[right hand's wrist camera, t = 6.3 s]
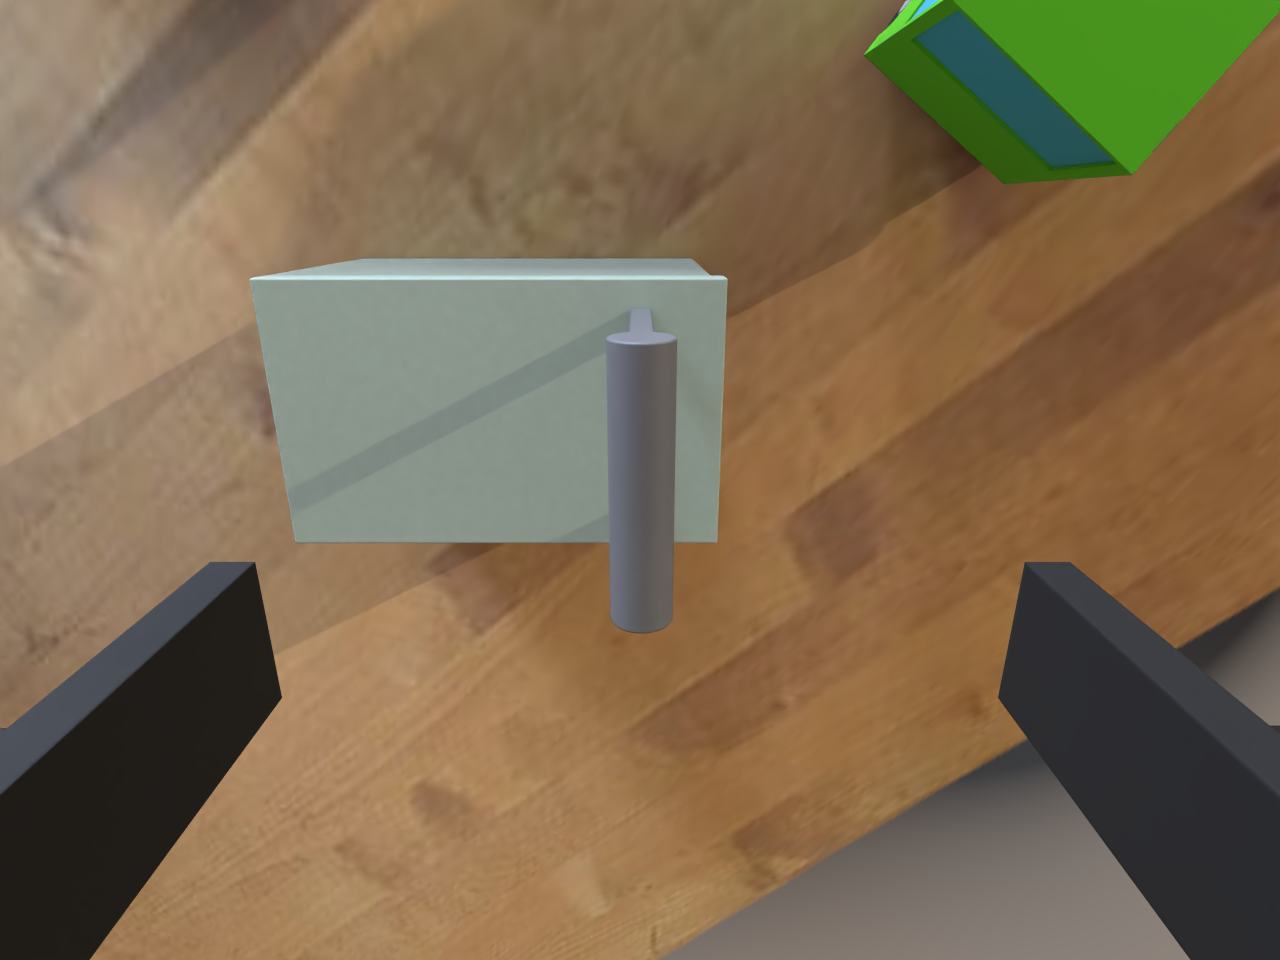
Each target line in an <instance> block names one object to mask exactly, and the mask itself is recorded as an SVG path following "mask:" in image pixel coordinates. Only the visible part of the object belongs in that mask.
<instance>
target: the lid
mask: <svg viewBox="0 0 1280 960" xmlns="http://www.w3.org/2000/svg"><path fill="white" fill-rule="evenodd" d="M727 282H728V280H727V278H726V277H724V276H260V277H255V278H251V279H250V284H251V290H252V296H253V302H254V307H255V313H256V319H257V324H258V330H259V336H260V342H261V347H262V353H263V359H264V364H265V370H266V376H267V381H268V387H269V393H270V399H271V404H272V410H273V416H274V421H275V427H276V433H277V439H278V444H279V450H280V456H281V461H282V467H283V473H284V478H285V484H286V490H287V496H288V501H289V507H290V513H291V518H292V524H293V530H294V536H295V541H296V543H609V567H610V618H611V620H612V622H613V624H614V625H615V626H616V627H618V628H620V629H622V630H624V631H627V632H632V633H651V632H656V631H659V630H661V629H663V628H665V627H666V626H668V625H669V624H670V622H671V620H672V617H673V563H674V543H717V536H718V511H719V486H720V460H721V435H722V409H723V384H724V358H725V333H726V308H727Z"/></svg>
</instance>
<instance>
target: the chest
mask: <svg viewBox="0 0 1280 960" xmlns="http://www.w3.org/2000/svg"><path fill="white" fill-rule="evenodd" d="M267 276H710V275H709V274H708V273H707V272H706V271H705V270H704V269H703V268H702V267H700V266H699V265H698V264H697V263H696V262H695V261H694V260H693V259H358V260H352V261H346V262H340V263H334V264H329V265H323V266H317V267H311V268H306V269H300V270H294V271H289V272H283V273H277V274H271V275H267Z"/></svg>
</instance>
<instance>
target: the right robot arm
mask: <svg viewBox="0 0 1280 960" xmlns="http://www.w3.org/2000/svg"><path fill="white" fill-rule="evenodd" d="M281 698H282V696H281V691H280V686H279V681H278V675H277V670H276V665H275V660H274V655H273V650H272V645H271V640H270V635H269V630H268V625H267V620H266V615H265V610H264V605H263V600H262V595H261V590H260V585H259V579H258V574H257V569H256V564H255V562H210V563H209V564H207V565H206V566H205V567H204V568H202V569H201V570H200V571H199V572H198V573H196V574H195V575H194V576H193V577H191V578H190V579H189V580H188V581H187V582H185V583H184V584H183V585H182V586H180V587H179V588H178V589H177V590H176V591H174V592H173V593H172V594H171V595H169V596H168V597H167V598H166V599H165V600H163V601H162V602H161V603H160V604H158V605H157V606H156V607H155V608H154V609H152V610H151V611H150V612H149V613H147V614H146V615H145V616H144V617H143V618H141V619H140V620H139V621H138V622H136V623H135V624H134V625H133V626H132V627H130V628H129V629H128V630H127V631H125V632H124V633H123V634H122V635H121V636H119V637H118V638H117V639H116V640H115V641H113V642H112V643H111V644H110V645H108V646H107V647H106V648H105V649H104V650H102V651H101V652H100V653H99V654H97V655H96V656H95V657H94V658H93V659H91V660H90V661H89V662H88V663H86V664H85V665H84V666H83V667H82V668H80V669H79V670H78V671H77V672H75V673H74V674H73V675H72V676H71V677H69V678H68V679H67V680H66V681H64V682H63V683H62V684H61V685H60V686H58V687H57V688H56V689H55V690H53V691H52V692H51V693H50V694H49V695H47V696H46V697H45V698H44V699H42V700H41V701H40V702H39V703H38V704H36V705H35V706H34V707H33V708H31V709H30V710H29V711H28V712H27V713H25V714H24V715H23V716H22V717H20V718H19V719H18V720H17V721H16V722H14V723H13V724H12V725H11V726H9V727H8V728H0V960H90V958H91V957H92V956H93V954H94V953H95V952H96V950H97V949H98V948H99V946H100V945H101V943H102V942H103V941H104V939H105V938H106V937H107V935H108V934H109V933H110V931H111V930H112V928H113V927H114V926H115V924H116V923H117V922H118V920H119V919H120V918H121V916H122V915H123V913H124V912H125V911H126V909H127V908H128V907H129V905H130V904H131V903H132V901H133V900H134V898H135V897H136V896H137V894H138V893H139V892H140V890H141V889H142V888H143V886H144V885H145V884H146V882H147V881H148V879H149V878H150V877H151V875H152V874H153V873H154V871H155V870H156V869H157V867H158V866H159V864H160V863H161V862H162V860H163V859H164V858H165V856H166V855H167V854H168V852H169V851H170V849H171V848H172V847H173V845H174V844H175V843H176V841H177V840H178V839H179V837H180V836H181V834H182V833H183V832H184V830H185V829H186V828H187V826H188V825H189V824H190V822H191V821H192V820H193V818H194V817H195V815H196V814H197V813H198V811H199V810H200V809H201V807H202V806H203V805H204V803H205V802H206V800H207V799H208V798H209V796H210V795H211V794H212V792H213V791H214V790H215V788H216V787H217V785H218V784H219V783H220V781H221V780H222V779H223V777H224V776H225V775H226V773H227V772H228V771H229V769H230V768H231V766H232V765H233V764H234V762H235V761H236V760H237V758H238V757H239V756H240V754H241V753H242V751H243V750H244V749H245V747H246V746H247V745H248V743H249V742H250V741H251V739H252V738H253V736H254V735H255V734H256V732H257V731H258V730H259V728H260V727H261V726H262V724H263V723H264V721H265V720H266V719H267V717H268V716H269V715H270V713H271V712H272V711H273V709H274V708H275V707H276V705H277V704H278V702H279V701H280V700H281ZM998 698H999V700H1000V701H1001V702H1002V704H1003V705H1004V707H1005V708H1006V709H1007V711H1008V712H1009V713H1010V715H1011V716H1012V717H1013V719H1014V720H1015V721H1016V723H1017V724H1018V726H1019V727H1020V728H1021V730H1022V731H1023V732H1024V734H1025V735H1026V736H1027V738H1028V739H1029V741H1030V742H1031V743H1032V745H1033V746H1034V747H1035V749H1036V750H1037V751H1038V753H1039V754H1040V756H1041V757H1042V758H1043V760H1044V761H1045V762H1046V764H1047V765H1048V766H1049V768H1050V769H1051V771H1052V772H1053V773H1054V775H1055V776H1056V777H1057V779H1058V780H1059V781H1060V783H1061V784H1062V785H1063V787H1064V788H1065V790H1066V791H1067V792H1068V794H1069V795H1070V796H1071V798H1072V799H1073V800H1074V802H1075V803H1076V805H1077V806H1078V807H1079V809H1080V810H1081V811H1082V813H1083V814H1084V815H1085V817H1086V818H1087V820H1088V821H1089V822H1090V824H1091V825H1092V826H1093V828H1094V829H1095V830H1096V832H1097V833H1098V834H1099V836H1100V837H1101V839H1102V840H1103V841H1104V843H1105V844H1106V845H1107V847H1108V848H1109V849H1110V851H1111V852H1112V854H1113V855H1114V856H1115V858H1116V859H1117V860H1118V862H1119V863H1120V864H1121V866H1122V867H1123V869H1124V870H1125V871H1126V873H1127V874H1128V875H1129V877H1130V878H1131V879H1132V881H1133V882H1134V883H1135V885H1136V886H1137V888H1138V889H1139V890H1140V892H1141V893H1142V894H1143V896H1144V897H1145V898H1146V900H1147V901H1148V902H1149V904H1150V905H1151V907H1152V908H1153V909H1154V911H1155V912H1156V913H1157V915H1158V916H1159V918H1160V919H1161V920H1162V922H1163V923H1164V924H1165V926H1166V927H1167V928H1168V930H1169V931H1170V933H1171V934H1172V935H1173V937H1174V938H1175V939H1176V941H1177V942H1178V943H1179V945H1180V946H1181V948H1182V949H1183V950H1184V952H1185V953H1186V954H1187V956H1188V957H1189V958H1190V960H1280V726H1269V725H1268V724H1267V723H1266V722H1264V721H1263V720H1262V719H1261V718H1260V717H1258V716H1257V715H1256V714H1255V713H1253V712H1252V711H1251V710H1250V709H1249V708H1247V707H1246V706H1245V705H1244V704H1242V703H1241V702H1240V701H1239V700H1238V699H1236V698H1235V697H1234V696H1233V695H1231V694H1230V693H1229V692H1228V691H1227V690H1225V689H1224V688H1223V687H1222V686H1220V685H1219V684H1218V683H1217V682H1215V681H1214V680H1213V679H1212V678H1211V677H1209V676H1208V675H1207V674H1206V673H1205V672H1203V671H1202V670H1201V669H1200V668H1198V667H1197V666H1196V665H1195V664H1194V663H1192V662H1191V661H1190V660H1189V659H1187V658H1186V657H1185V656H1184V655H1183V654H1181V653H1180V652H1179V651H1178V650H1176V649H1175V648H1174V647H1173V646H1172V645H1170V644H1169V643H1168V642H1167V641H1165V640H1164V639H1163V638H1162V637H1161V636H1159V635H1158V634H1157V633H1156V632H1155V631H1153V630H1152V629H1151V628H1150V627H1148V626H1147V625H1146V624H1145V623H1144V622H1142V621H1141V620H1140V619H1139V618H1137V617H1136V616H1135V615H1134V614H1133V613H1131V612H1130V611H1129V610H1128V609H1126V608H1125V607H1124V606H1123V605H1122V604H1120V603H1119V602H1118V601H1117V600H1115V599H1114V598H1113V597H1112V596H1111V595H1109V594H1108V593H1107V592H1106V591H1104V590H1103V589H1102V588H1101V587H1100V586H1098V585H1097V584H1096V583H1095V582H1093V581H1092V580H1091V579H1090V578H1089V577H1087V576H1086V575H1085V574H1084V573H1082V572H1081V571H1080V570H1079V569H1078V568H1076V567H1075V566H1074V565H1073V564H1071V563H1070V562H1025V564H1024V569H1023V574H1022V579H1021V585H1020V590H1019V595H1018V600H1017V605H1016V610H1015V615H1014V620H1013V625H1012V630H1011V635H1010V640H1009V645H1008V650H1007V655H1006V660H1005V665H1004V670H1003V675H1002V681H1001V686H1000V691H999V696H998Z"/></svg>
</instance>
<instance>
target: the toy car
mask: <svg viewBox="0 0 1280 960" xmlns="http://www.w3.org/2000/svg"><path fill="white" fill-rule="evenodd" d="M1279 11H1280V0H906V2H905V3H904V4H903V5H902V7H901V8H900V9H899V11H898V12H897V14H896V15H895V16H894V18H893V19H892V21H891V22H890V23H889V25H888V27H887V28H886V30H884V31H883V32H882V33H881V34H879V36H878V37H877V38H876V40H875V41H874V42H873V44H872V45H871V46H870V48H869V49H868V50H867V52H866V53H865V54H864V56H865V57H866V58H867V59H868V60H870V61H871V62H872V63H873V64H874V65H875V66H876V67H877V68H878V69H879V70H880V71H881V72H883V73H884V74H885V75H886V76H887V77H888V78H889V79H890V80H891V81H892V82H893V83H895V84H896V85H897V86H898V87H899V88H900V89H901V90H902V91H903V92H904V93H905V94H906V95H908V96H909V97H910V98H911V99H912V100H913V101H914V102H915V103H916V104H917V105H918V106H920V107H921V108H922V109H923V110H924V111H925V112H926V113H927V114H928V115H929V116H930V117H932V118H933V119H934V120H935V121H936V122H937V123H938V124H939V125H940V126H941V127H942V128H943V129H945V130H946V131H947V132H948V133H949V134H950V135H951V136H952V137H953V138H954V139H955V140H957V141H958V142H959V143H960V144H961V145H962V146H963V147H964V148H965V149H966V150H967V151H969V152H970V153H971V154H972V155H973V156H974V157H975V158H976V159H977V160H978V161H979V162H980V163H982V164H983V165H984V166H985V167H986V168H987V169H988V170H989V171H990V172H991V173H992V174H994V175H995V176H996V177H997V178H998V179H999V180H1000V181H1001V182H1002V183H1003V184H1010V183H1024V182H1038V181H1052V180H1066V179H1080V178H1093V177H1107V176H1121V175H1132V174H1133V173H1134V172H1135V171H1136V170H1137V169H1138V168H1139V167H1140V166H1141V164H1142V163H1143V162H1144V161H1145V160H1146V159H1147V158H1148V157H1149V156H1150V155H1151V153H1152V152H1153V151H1154V150H1155V149H1156V148H1157V147H1158V146H1159V145H1160V143H1161V142H1162V141H1163V140H1164V139H1165V138H1166V137H1167V136H1168V135H1169V133H1170V132H1171V131H1172V130H1173V129H1174V128H1175V127H1176V126H1177V125H1178V123H1179V122H1180V121H1181V120H1182V119H1183V118H1184V117H1185V116H1186V115H1187V113H1188V112H1189V111H1190V110H1191V109H1192V108H1193V107H1194V106H1195V105H1196V103H1197V102H1198V101H1199V100H1200V99H1201V98H1202V97H1203V96H1204V95H1205V93H1206V92H1207V91H1208V90H1209V89H1210V88H1211V87H1212V86H1213V85H1214V84H1215V82H1216V81H1217V80H1218V79H1219V78H1220V77H1221V76H1222V75H1223V74H1224V72H1225V71H1226V70H1227V69H1228V68H1229V67H1230V66H1231V65H1232V64H1233V62H1234V61H1235V60H1236V59H1237V58H1238V57H1239V56H1240V55H1241V54H1242V52H1243V51H1244V50H1245V49H1246V48H1247V47H1248V46H1249V45H1250V44H1251V42H1252V41H1253V40H1254V39H1255V38H1256V37H1257V36H1258V35H1259V34H1260V32H1261V31H1262V30H1263V29H1264V28H1265V27H1266V26H1267V25H1268V24H1269V23H1270V21H1271V20H1272V19H1273V18H1274V17H1275V16H1276V15H1277V14H1278V13H1279Z"/></svg>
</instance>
